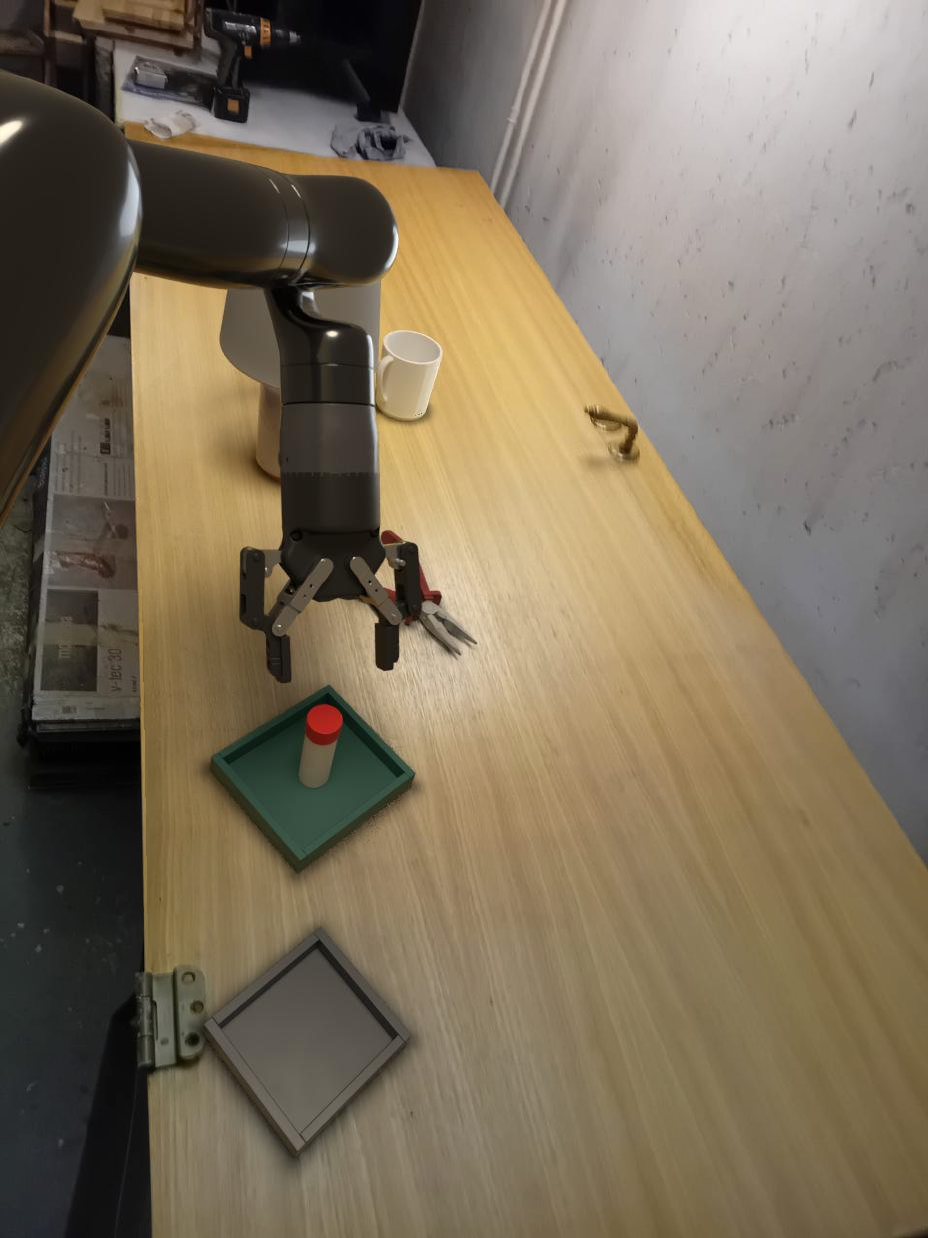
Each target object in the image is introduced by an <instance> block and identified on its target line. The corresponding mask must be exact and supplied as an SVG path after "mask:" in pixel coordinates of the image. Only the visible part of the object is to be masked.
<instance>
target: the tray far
mask: <svg viewBox="0 0 928 1238" xmlns="http://www.w3.org/2000/svg"><path fill="white" fill-rule="evenodd" d="M318 705H330V706H333V707H335V708H336V709H337V710H339V712H340V713H341V715H342V719H343V721H342V726H341V730H340V735H339V737H338V739H337V743H336V747H335V752H334V756H333V761H332V765H331V769H330V774H329V778H328V780H327V782H326V783H325V784H324V785H323V786H321V787H318V788H310V787H307V786H305V785H304V784H303V783H302V782H301V781H300V779H299V775H298V774H299V767H300V762H301V756H302V750H303V745H304V739H305V727H306V721H307V715H308V713H309V711H310V710H311V709H312V708H314V707H315V706H318ZM209 770H210V772H211V773H212V774H213V776H215V778H216V779H217V780H218V782H220V784H221V785H222V786H223V787H224V789H225V790H227V792H228V793H229V795H230V796H231V797H232V798H233V799H234V800H235V801H236V802H237V804H238V805H239V806H240V807H241V808H242V810H243V811H244V812H245V814H247V815H248V817H249V818H250V819H251V820H252V821H253V822H254V824H255V825H256V826H257V827H258V828H259V830H260V831H261V832H262V833H263V834H264V835H265V836H266V837H267V839H268V840H269V841H270V843H272V844H273V846H274V847H275V848H276V850H278V852H279V853H280V854H281V855H282V857H284V859H285V860H286V861H287V862H288V864H289V865H290V866H291V867H292V868H293V870H294V871H295V872H296V873H297V874H298V873H300V872H301V871H302V870H304V869H305V868H306V867H308V866H309V865H311V864H312V863H313V862H314V861H315V860H317V859H318V858H319V857H320V856H322V855H324V854H325V853H326V852H327V851H328V850H330V849H331V848H333V846H335V845H336V844H338V843H339V842H341V841H342V840H343V839H345V837H347V836H348V835H350V833H351V834H352V832H353V831H354V830H356V829H357V828H359V827H360V826H361V825H363V824H364V823H365V822H366V821H368V820H369V819H371V818H372V817H373V816H374V815H376V814H377V813H378V812H379V811H381V810H382V809H383V808H385V807H386V806H387V805H389V804H390V803H392V802H393V801H395V799H396V798H397V797H399V796H400V795H402V794H403V793H404V792H405V791H407V790H408V789H410V788H411V787H412V785H413V782H414V779H415V777H416V775H417V774H416V773H417V772H415V771H414V769H412V767H410V766H409V764H408V763H406V762H405V760H404V759H402V757H401V756H400V755H398V753H397V752H396V751H395V750H394V749H393V748H392V747H391V746H390V745H389V744H388V743H387V741H385V740H384V739H383V738H382V737H381V736H380V735H379V734H378V733H377V732H376V731H375V729H374V728H373V727H371V725H369V723H368V722H367V721H365V719H364V718H362V716H361V715H360V714H359V713H358V712H357V711H356V710H355V709H354V708H353V707H352V706H351V705H350V704H349V703H348V702H347V701H346V700H345V699H344V698H343V697H342V696H341V695H340V694H339V692H338V691H336V690H335V688H333V686H332V685H331V684H328V685H325V686H324V687H323V688H321V689H319V690H318V691H316V692H315V693H313V694H311V695H309V696H308V697H306V698H304V699H303V700H301V701H299V702H298V703H296V704H295V705H293V706H292V707H290V708H288V709H287V710H285V711H283V712H281V713H280V714H279V715H277V716H275V717H273V718H272V719H270V720H268V721H267V722H265V723H264V724H262V725H260V726H259V727H257V728H255V729H253V730H251V731H250V732H249V733H247V734H245V735H244V736H243V737H241V738H239V739H237V740H236V741H234V742H233V743H230V744H229V745H228V746H226V747H224V748H223V749H220V750H219V751H218V752H216V753H214V754H213V755H211V756H210V769H209Z"/></svg>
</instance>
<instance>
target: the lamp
mask: <svg viewBox="0 0 928 1238" xmlns="http://www.w3.org/2000/svg"><path fill="white" fill-rule="evenodd" d="M381 298H382V279H381V280H380V281H379V282H377V283H375V284H373V285H370V286H366V287H358V288H343V289H328V290H315V300H316V304H317V306H318V309H319V311H320V313H321V315H322V316H323V318H327V319H333V320H339V321H344V322H349V323H353V324H356V325H359V326H361V327H363V328H364V329H366V330H367V331H368V332H369V334H370V335H371V337H372V340H373V345H374V358H375V370H374V371H375V374H376V371H377V367H378V364H379V357H380V356H379V355H380V353H379V352H380V333H381V332H380V330H381V306H382V305H381V303H382V299H381ZM222 313H223V314H222V319H221V324H220V331H219V338H218V341H219V346H220V349H221V351H222V354H223V355H224V357H225V358H226V359H227V361H228V362H229V363H230V364H231V365H232V366H233V367H234V368H235V369H236V370H237V371H239V372H240V373H242V374H244V375H245V376H246V377H248V378H250V379H251V380H254V381H256V382H258V383H259V397H258V409H257V410H258V411H257V412H258V413H257V427H256V442H255V443H256V445H255V459H256V462H257V464H258V465H259V466H260V467H261V469H262V470H263V471H264V473H265V474H266V475H267V476H268V477H270V478H271V479H273V480H275V481H278V482H280V467H279V465H278V453H279V427H280V417H281V406H282V405H281V395H280V367H279V350H278V346H277V341H276V337H275V333H274V330H273V326H272V322H271V318H270V315H269V311H268V307H267V303H266V300H265V296H264V293H263V290H226V295H225V302H224V307H223V312H222Z"/></svg>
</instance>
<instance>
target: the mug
mask: <svg viewBox="0 0 928 1238" xmlns="http://www.w3.org/2000/svg"><path fill="white" fill-rule="evenodd" d="M443 355H444V351H443V347H442V346H441V344H439V343H438V342H437V341H436V340H435V339H433V338H432V337H430V336H428V335H426V334H423V333H421V332H418V331H414V330H408V329H399V330H398V329H397V330H393V331H391V332H388V333H387V334H386V335H384V337H383V340H382V347H381V354H380V361H378V367H377V370H376V373H375V389H376V391H375V405H376V406H377V408H378V409H379V410H380V412H381V413H383V414H384V415H385V416H387V417H390V418H391V419H394V420H398V421H402V422H403V421H405V422H410V421H412V422H413V421H417V420H419V419H421V418H422V417H423V416H424V415H425V414H426V412H427V408H428V406H429V402H430V399H431V396H432V392H433V388H434V386H435V383H436V379H437V376H438V372H439V368H440V366H441V363H442V359H443ZM421 413H422V414H421ZM418 414H420V415H418ZM415 415H416V416H415Z"/></svg>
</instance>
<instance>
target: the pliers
mask: <svg viewBox="0 0 928 1238" xmlns="http://www.w3.org/2000/svg"><path fill="white" fill-rule="evenodd" d="M380 539H381V541H382V543H383V545H384V544H393V543H394V542H395V541H398V540H401V541H405V540H404V539H403V538H402V537H400V536H399V535H398V534H397V533H395V532H394V531H393V530H390V529H385V530H383V531H382V532H381V533H380ZM419 568H420V584H421V599H422V610H421V612H420V614H418V615H416V616H414V615H412V616H409V617H407V618H405V619H404V623H405V624H406V625H411V623H412V620H417V619H418V618H419V619H420V621H421V622H422V623H423V625H424V626H425V627H426V628H427V629H428V631H430V633H431V634H433V635H434V636H435V637H436V638H437V639H439V640H440V641H441V642H443V643H444V644H445V645H446V646H447V647H448V648H450V649H451V650H452V651H453V652H455V653H456V654H457V655H458V656H459V657H461V656H462V652H461V651H460V649H459V647H458V645H456V643H455V641H454V640H453V638H452V637H451V634H450V633H452V634H454V635H456V636H458V637H460V638H462V639H464V640H466V641H468V642H469V643H471V644H473V645H478V641H477V640H476V639H475V638H474V637H473V636H472V635H471V634H470V633H469V632H468V631H467V629H465V628H464V627H463V626H462V625H461V624H460V622H458V620H456V618H454V617H453V615H451V614H450V613H449V612H448V611H446V610H445V609H443V608H442V607H440V604H441V601H442V598H443V595H442V593H441V591H440V590H436V589H435V590H430V587H429V585H428V582H427V579H426V575H425V573H424V571H423V568H422V565H421V562H420V561H419ZM383 587H384V589H385V590H386V591H387V593H388V594H389V598H390V599H391V601H392V602H393V603H394V602H396V595H395V590H393V589H390V588H387V587H385V586H383ZM358 598H359V599H361V598H360V597H358ZM449 632H450V633H449Z"/></svg>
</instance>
